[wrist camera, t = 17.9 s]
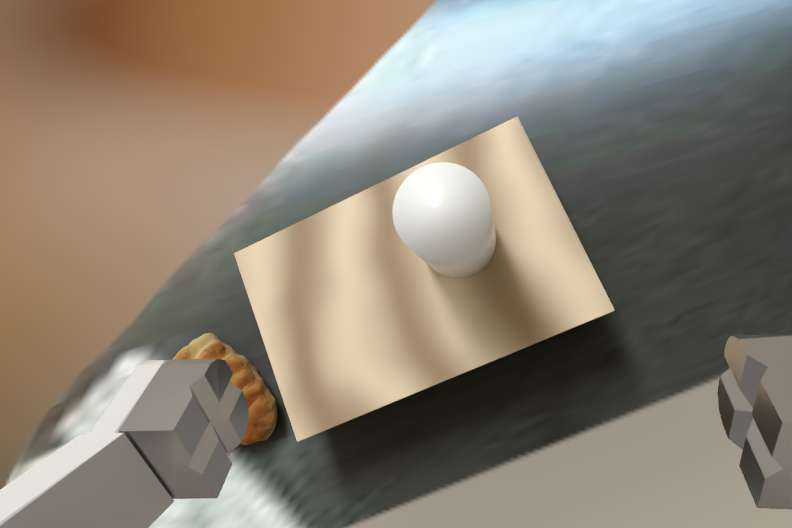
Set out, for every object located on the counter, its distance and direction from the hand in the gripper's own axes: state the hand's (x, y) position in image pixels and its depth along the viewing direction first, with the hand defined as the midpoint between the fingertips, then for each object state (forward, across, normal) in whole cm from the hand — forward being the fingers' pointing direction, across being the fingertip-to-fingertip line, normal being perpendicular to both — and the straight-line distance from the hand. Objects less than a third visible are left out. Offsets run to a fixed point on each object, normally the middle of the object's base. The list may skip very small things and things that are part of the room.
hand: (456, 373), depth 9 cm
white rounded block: (+24, +3, +13) cm, 28 cm away
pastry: (+22, +22, +24) cm, 39 cm away
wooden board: (+26, +6, +18) cm, 33 cm away
